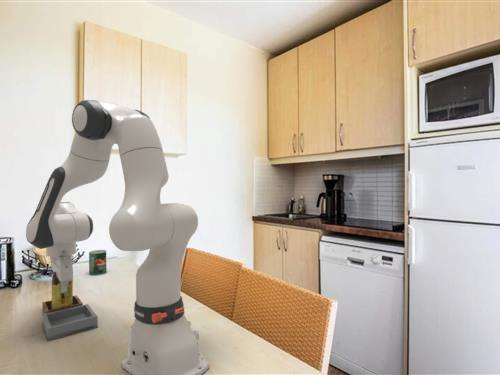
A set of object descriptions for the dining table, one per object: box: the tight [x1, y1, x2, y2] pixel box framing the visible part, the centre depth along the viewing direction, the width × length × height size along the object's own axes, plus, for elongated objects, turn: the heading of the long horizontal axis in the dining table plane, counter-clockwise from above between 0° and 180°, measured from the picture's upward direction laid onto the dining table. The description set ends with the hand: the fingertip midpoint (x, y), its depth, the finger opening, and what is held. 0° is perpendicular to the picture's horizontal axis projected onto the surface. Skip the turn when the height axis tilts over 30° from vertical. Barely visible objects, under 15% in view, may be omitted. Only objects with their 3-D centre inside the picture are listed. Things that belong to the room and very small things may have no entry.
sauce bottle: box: [51, 271, 74, 310], centre depth 107 cm, size 7×6×20 cm
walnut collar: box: [41, 295, 84, 314], centre depth 107 cm, size 11×11×4 cm
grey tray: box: [41, 303, 99, 342], centre depth 97 cm, size 13×13×4 cm
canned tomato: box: [88, 249, 107, 277], centre depth 156 cm, size 8×8×11 cm
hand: (61, 288), depth 107 cm, fingers open, 6 cm apart
